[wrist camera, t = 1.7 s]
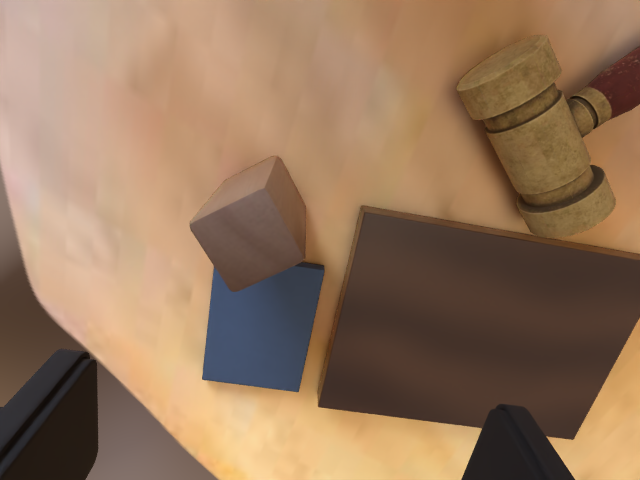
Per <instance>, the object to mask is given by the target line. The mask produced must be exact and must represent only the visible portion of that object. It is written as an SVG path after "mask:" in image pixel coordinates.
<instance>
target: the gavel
mask: <svg viewBox="0 0 640 480" xmlns="http://www.w3.org/2000/svg"><path fill="white" fill-rule="evenodd" d="M561 71H562V70H561V68H560V65H559V63H558V61H557V58H556V56H555V53H554V51H553V49H552V46H551V44H550V41H549V39H548V37H547V36H546V35H534V36H531V37H527V38H525V39H522V40H520V41H518V42H516V43H514V44H512V45H510V46H508V47H506V48H504V49H502V50H500V51H499V52H497V53H495V54H493V55H492V56H490V57H489V58H487V59H485V60H484V61H483V62H481V63H480V64H478V65H477V66H475V67H474V68H473V69H471V70H470V71H469V72H468V73H467V74H466V75H464V76H463V78H462V79H461V80H460V82H459V84H458V85H457V88H456V89H457V91H458V93H459V95H460V97H461V99H462V101H463V103H464V105H465V107H466V109H467V110H468V112H469V114H470V116H471V118H472V119H474V120H482V119H483V121H484V123H485V125H486V128H485V132H486V134H487V136H488V138H489V140H490V142H491V143H492V145H493V147H494V149H495V151H496V153H497V155H498V157H499V159H500V161H501V163H502V165H503V167H504V169H505V171H506V173H507V175H508V177H509V179H510V181H511V183H512V185H513V186H514V188H515V190H516V191H517V192H519V193H520V195H519V196H518V198H517V202H516V203H517V207H518V209H519V211H520V213H521V215H522V217H523V219H524V221H525V222H526V224H527V226H528V228H529V230H530V232H532V233H533V234H534V235H536V236H539V237H544V238H559V237H566V236H571V235H575V234H578V233H581V232H583V231H586V230H588V229H590V228H592V227H594V226H595V225H597V224H599V223H600V222H602V221H603V220H604V219H605V218H607V217H608V216H609V215H610V214H611V212H612V211H613V209H614V207H615V205H616V199H615V197H614V194H613V192H612V189H611V187H610V185H609V182H608V180H607V178H606V175H605V173H604V171H603V169H601V168H600V167H598V166H595V165H590V163H591V158H590V156H589V153H588V151H587V149H586V146H585V144H584V142H583V139H582V137H584V136H585V135H587V134H589V133H590V132H591V131H592V130H593V129H595V128H597V127H598V126H600V125H601V124H603V123H604V122H606V121H608V120H610V119H612V118H614V117H617V116H619V115H621V114H623V113H625V112H628V111H630V110H632V109H633V108H635V107H636V106H638V105H639V104H640V47H638V48H637V49H635V50H634V51H632V52H631V53H629V54H628V55H626V56H625V57H623V58H622V59H620V60H619V61H617V62H616V63H614V64H613V65H611V66H610V67H608V68H607V69H605V70H604V71H602V72H601V73H600V74H599V75H598V76H597V77H596V78H595V79H594V80H592V81H591V82H590V83H589V84H588V85H587V86H586V87H585V88H584V89H582V90H581V91H579V92H578V93H576V94H575V95H573V96H572V97H571V98H570V99H567V100H566V99H565V97H564V95H563V92H562V91H560V90H557V88H556V86H555V83H554V82H555V81H556V79H557V78H558V77H559V76H560V74H561Z"/></svg>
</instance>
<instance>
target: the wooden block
mask: <svg viewBox="0 0 640 480" xmlns="http://www.w3.org/2000/svg"><path fill="white" fill-rule="evenodd" d="M189 224H190V229H191V231H192V232H193V234H194V236H195V237H196V239H197V240H198V242H199V243H200V245H201V246H202V248H203V249H204V251H205V253H206V254H207V256H208V257H209V259H210V260H211V262H212V263H213V265H214V266H215V268H216V270H217V271H218V273H219V274H220V276H221V277H222V279H223V280H224V282H225V284H226V285H227V287H228V288H229V289H230V290H231V291H232V292H238V291H240V290H242V289H245V288H247V287H249V286H251V285H253V284H255V283H258V282H260V281H262V280H264V279H266V278H268V277H271V276H273V275H275V274H277V273H279V272H282V271H284V270H286V269H288V268H290V267H292V266H295V265H297V264H299V263H301V262H302V261H303V260H304V259H305V251H306V206H305V204H304V202H303V200H302V198H301V196H300V194H299V192H298V191H297V189H296V187H295V185H294V183H293V181H292V179H291V177H290V175H289V173H288V171H287V169H286V167H285V166H284V164H283V162H282V160H281V159H280V158H279V157H278V156H272V157H270V158H268V159H266V160H264V161H262V162H260V163H258V164H256V165H254V166H252V167H250V168H248V169H246V170H244V171H242V172H240V173H238V174H236V175H234V176H232V177H230V178H228V179H226V180H224V182H223V183H222V184H221V185H220V186H219V188H218V189H217V190H216V191H215V192H214V194H213V195H212V196H211V197H210V198H209V200H208V201H207V202H206V203H205V204H204V206H203V207H202V208H201V209H200V210H199V212H198V213H197V214H196V215H195V216H194V218H193V219H192V220H191V221H190V223H189Z"/></svg>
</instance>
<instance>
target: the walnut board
mask: <svg viewBox="0 0 640 480" xmlns="http://www.w3.org/2000/svg"><path fill="white" fill-rule="evenodd" d="M639 318H640V254H635V253H629V252H624V251H618V250H612V249H607V248H601V247H595V246H590V245H584V244H578V243H573V242H567V241H561V240H556V239H550V238H544V237H539V236H533V235H527V234H522V233H516V232H510V231H505V230H499V229H493V228H488V227H482V226H476V225H471V224H465V223H459V222H454V221H448V220H442V219H437V218H431V217H425V216H420V215H414V214H408V213H403V212H397V211H391V210H386V209H380V208H374V207H369V206H361V210H360V214H359V218H358V223H357V227H356V231H355V235H354V240H353V244H352V248H351V252H350V257H349V261H348V265H347V269H346V274H345V278H344V282H343V286H342V291H341V295H340V299H339V303H338V308H337V312H336V316H335V321H334V325H333V329H332V333H331V338H330V342H329V346H328V350H327V355H326V359H325V363H324V367H323V372H322V376H321V380H320V384H319V389H318V407H321V408H329V409H337V410H344V411H352V412H360V413H368V414H376V415H384V416H391V417H399V418H407V419H415V420H423V421H431V422H438V423H446V424H454V425H462V426H470V427H478V428H483V426H484V423H485V421H486V418H487V416H488V414H489V412H490V410H492V409H495V408H496V406H497V405H499V404H508V405H516V406H523V407H525V408H526V409H527V410H528V411H529V412H530V414H531V415H532V417H533V418H534V420H535V421H536V423H537V424H538V425H539V427H540V428H541V430H542V431H543V433H544V434H545V436H548V437H556V438H564V439H572V440H573V439H574V438H575V436H576V434H577V432H578V430H579V428H580V427H581V425H582V423H583V421H584V419H585V417H586V416H587V414H588V412H589V410H590V408H591V406H592V404H593V403H594V401H595V399H596V397H597V395H598V393H599V392H600V390H601V388H602V386H603V384H604V382H605V380H606V379H607V377H608V375H609V373H610V371H611V369H612V368H613V366H614V364H615V362H616V360H617V358H618V356H619V355H620V353H621V351H622V349H623V347H624V345H625V344H626V342H627V340H628V338H629V336H630V334H631V332H632V331H633V329H634V327H635V325H636V323H637V321H638V320H639Z"/></svg>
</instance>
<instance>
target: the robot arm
mask: <svg viewBox="0 0 640 480" xmlns="http://www.w3.org/2000/svg"><path fill="white" fill-rule="evenodd" d="M97 453H98V404H97V363H96V360H92V359H90V355H89V353H88V352H83V351H75V350H67V349H59V350H57V351H56V352H55V353H54V354H53V355H52V356H51V357H50V358H49V359H48V360H47V361H46V363H44V365H43V366H42V367H41V368H40V369H39V370H38V371H37V372H36V373H35V374H34V375H33V376H32V377H31V379H29V381H28V382H27V383H26V384H25V385H24V386H23V387H22V388H21V389H20V390H19V391H18V392H17V393H16V395H14V397H13V398H12V399H11V400H10V401H9V402H8V403H7V404H6V405H5V406H4V407H0V480H85V479H86V478H87V476H88V474H89V472H90V470H91V469H92V467H93V464H94V463H95V460H96V457H97ZM462 480H575V479H574V477H573V476H572V474H571V473H570V471H569V470H568V468H567V467H566V466H565V464H564V463H563V461H562V460H561V458H560V457H559V455H558V454H557V452H556V451H555V449H554V448H553V446H552V445H551V443H550V442H549V440H548V439H547V437H546V436H545V434H544V433H543V431H542V430H541V428H540V427H539V425H538V424H537V423H536V421H535V420H534V418H533V417H532V415H531V414H530V412H529V411H528V410H527V409H526V408H525V407H523V406H516V405H508V404H499V405H497V406H496V408H495V409H492V410H490V412H489V414H488V416H487V418H486V421H485V423H484V426H483V428H482V431H481V433H480V436H479V438H478V440H477V443H476V445H475V448H474V450H473V453H472V455H471V458H470V460H469V463H468V465H467V467H466V470H465V472H464V475H463V477H462Z"/></svg>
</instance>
